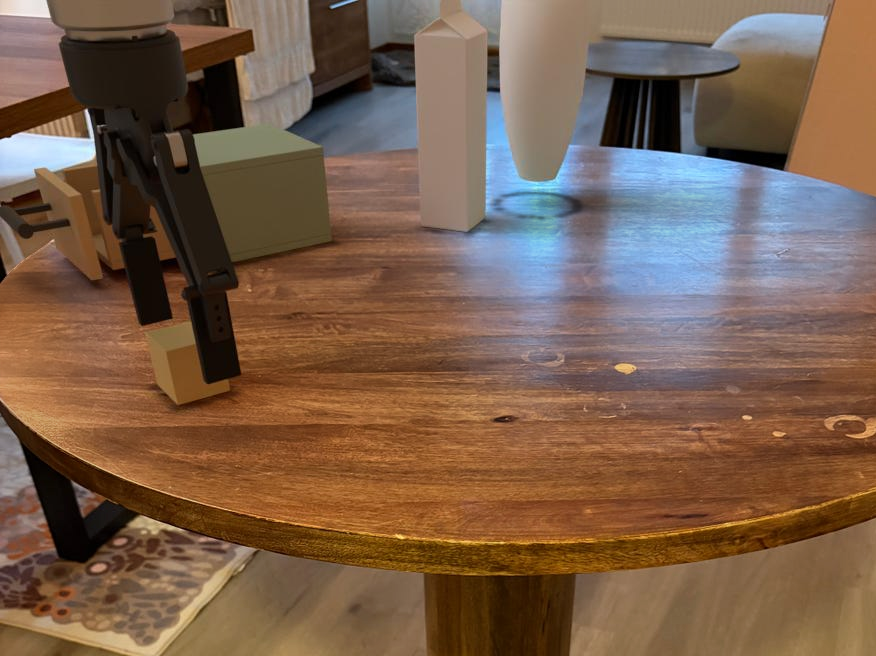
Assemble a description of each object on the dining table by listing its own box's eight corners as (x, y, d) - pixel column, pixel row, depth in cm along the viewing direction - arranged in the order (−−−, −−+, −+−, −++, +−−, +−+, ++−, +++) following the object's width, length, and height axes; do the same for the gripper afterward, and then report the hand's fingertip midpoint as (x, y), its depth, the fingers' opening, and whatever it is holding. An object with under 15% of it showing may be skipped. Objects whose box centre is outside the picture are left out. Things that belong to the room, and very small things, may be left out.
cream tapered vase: (533, 185, 120) (542, -16, 106) (595, 202, 114) (613, -8, 100) (477, 201, 114) (479, -9, 100) (539, 220, 109) (550, 1, 94)
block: (177, 405, 73) (165, 351, 70) (157, 384, 75) (144, 331, 73) (230, 390, 75) (220, 337, 72) (208, 371, 77) (197, 318, 75)
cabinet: (201, 269, 96) (182, 169, 89) (156, 236, 103) (135, 142, 97) (332, 241, 103) (323, 146, 96) (281, 212, 110) (269, 123, 104)
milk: (485, 218, 109) (490, -6, 95) (467, 233, 105) (468, 1, 91) (439, 211, 111) (436, -10, 96) (418, 226, 107) (412, -3, 92)
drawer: (41, 291, 88) (14, 205, 83) (8, 257, 95) (-18, 176, 90) (227, 252, 97) (214, 172, 92) (185, 224, 104) (171, 148, 99)
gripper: (255, 49, 53) (302, 392, 67) (109, 5, 68) (173, 291, 82) (127, 63, 49) (206, 420, 63) (5, 13, 65) (89, 310, 79)
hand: (187, 348), depth 73 cm, fingers open, 13 cm apart
